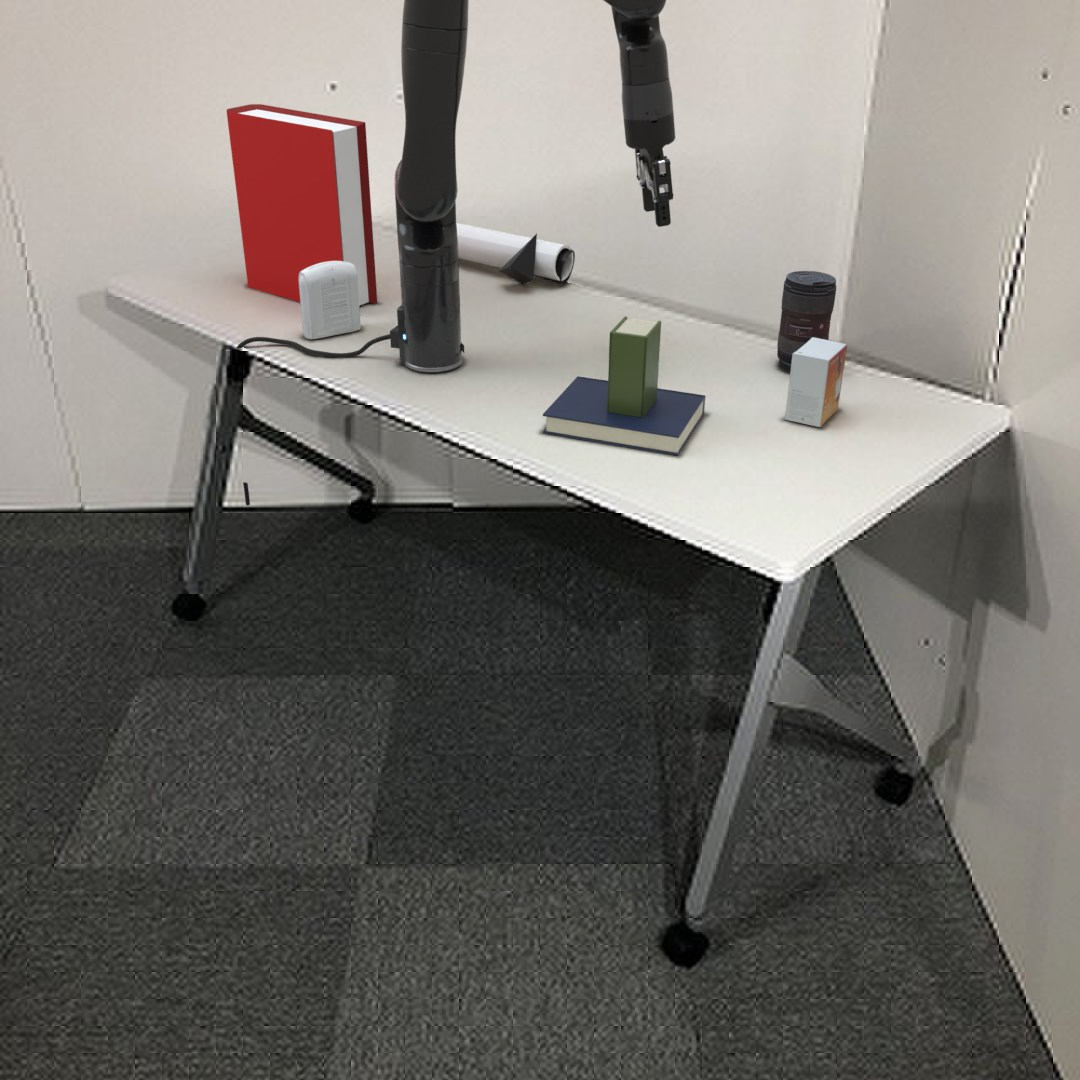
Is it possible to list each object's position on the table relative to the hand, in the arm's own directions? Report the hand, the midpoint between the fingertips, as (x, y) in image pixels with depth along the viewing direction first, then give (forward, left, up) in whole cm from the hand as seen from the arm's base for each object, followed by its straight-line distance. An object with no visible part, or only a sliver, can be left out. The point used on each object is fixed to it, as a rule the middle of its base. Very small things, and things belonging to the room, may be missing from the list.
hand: (657, 217), depth 188 cm
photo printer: (-54, -11, -23) cm, 59 cm away
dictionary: (+5, -28, -19) cm, 35 cm away
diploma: (-42, +28, -23) cm, 55 cm away
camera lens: (+24, +3, -23) cm, 33 cm away
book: (-68, +5, -23) cm, 71 cm away
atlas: (+4, -28, -22) cm, 36 cm away
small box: (+29, -15, -23) cm, 40 cm away
